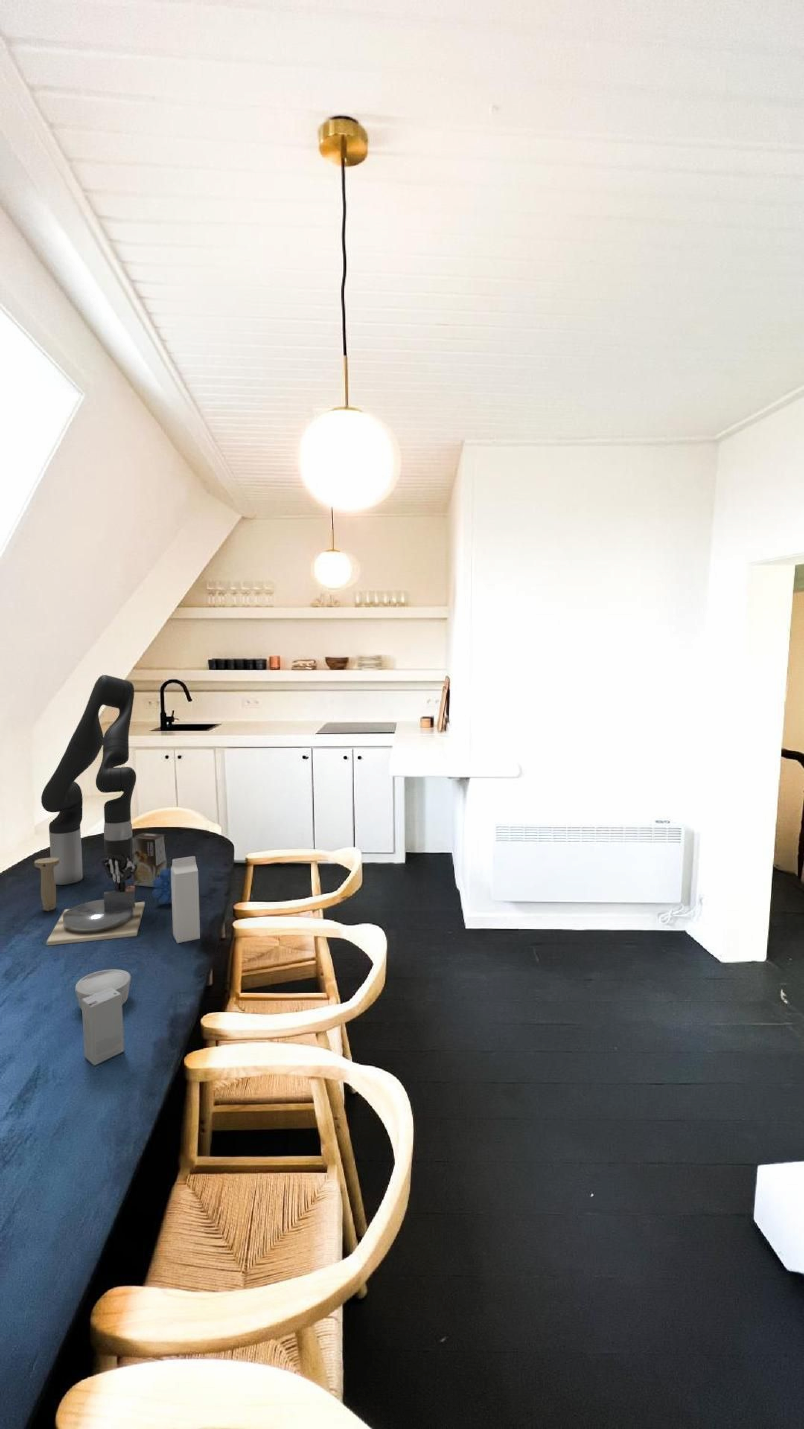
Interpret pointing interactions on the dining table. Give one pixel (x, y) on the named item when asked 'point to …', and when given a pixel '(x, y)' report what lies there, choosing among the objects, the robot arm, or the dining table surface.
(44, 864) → the handle
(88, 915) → the dial
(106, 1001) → the skincare box
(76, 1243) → the dining table surface
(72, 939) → the base plate
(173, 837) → the dining table surface
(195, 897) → the milk
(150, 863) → the coffee box
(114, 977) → the ramekin
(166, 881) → the grapes
